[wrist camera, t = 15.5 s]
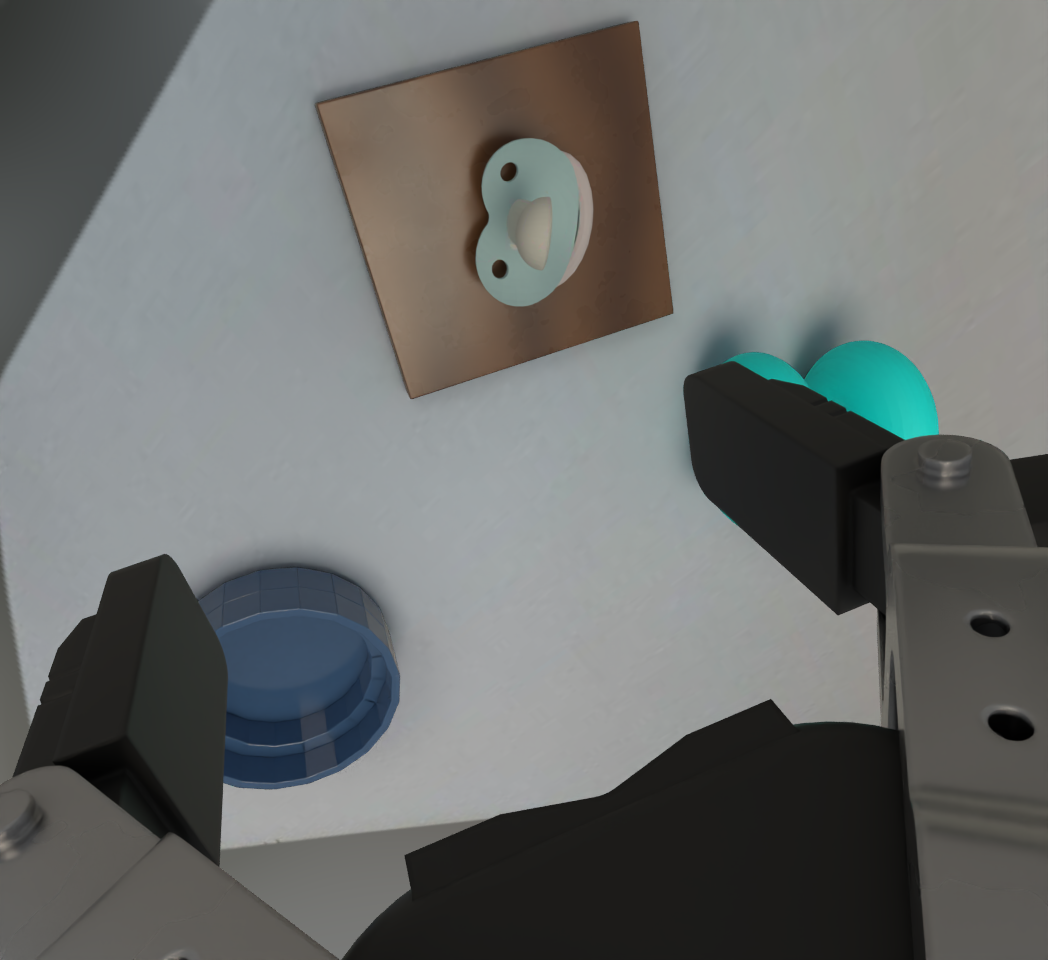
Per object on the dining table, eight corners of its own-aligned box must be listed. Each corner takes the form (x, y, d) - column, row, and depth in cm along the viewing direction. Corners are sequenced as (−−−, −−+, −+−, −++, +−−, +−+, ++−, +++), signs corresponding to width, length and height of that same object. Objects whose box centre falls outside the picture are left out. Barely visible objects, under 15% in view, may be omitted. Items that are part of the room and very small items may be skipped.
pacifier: (597, 144, 37) (477, 131, 35) (660, 154, 31) (522, 139, 29) (576, 297, 40) (464, 293, 38) (630, 330, 34) (504, 327, 32)
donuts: (814, 466, 51) (926, 541, 43) (679, 487, 48) (770, 571, 40) (842, 319, 47) (973, 369, 38) (695, 333, 44) (800, 391, 35)
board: (407, 392, 40) (410, 400, 39) (313, 103, 33) (315, 103, 32) (664, 308, 43) (674, 313, 42) (627, 22, 36) (639, 20, 35)
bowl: (222, 760, 47) (219, 819, 43) (129, 610, 41) (116, 664, 37) (412, 686, 49) (425, 737, 45) (350, 533, 43) (359, 576, 39)
